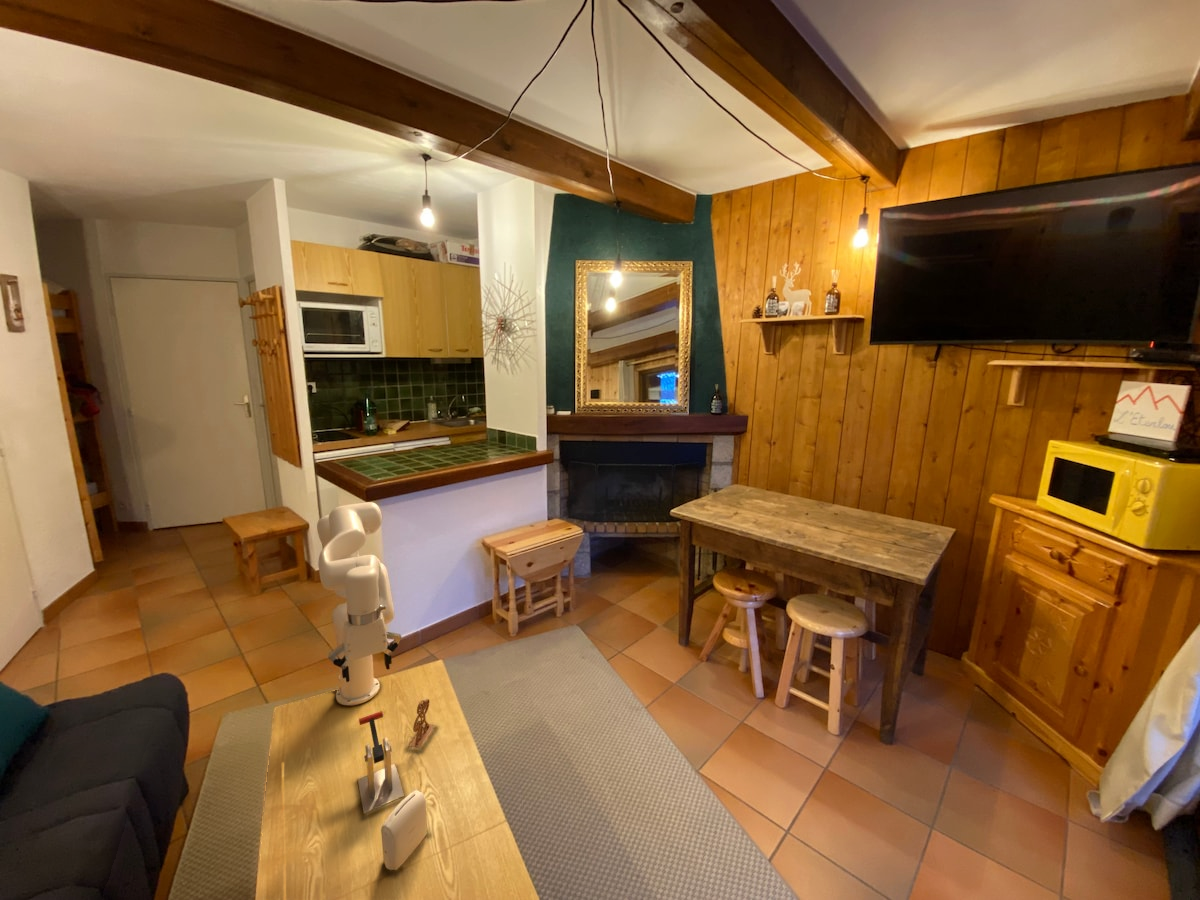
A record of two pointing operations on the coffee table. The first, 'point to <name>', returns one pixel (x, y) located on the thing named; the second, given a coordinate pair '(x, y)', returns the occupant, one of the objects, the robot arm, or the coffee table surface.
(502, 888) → the coffee table surface
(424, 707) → the brown filigree ornament
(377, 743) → the lever
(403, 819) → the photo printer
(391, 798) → the bracket
